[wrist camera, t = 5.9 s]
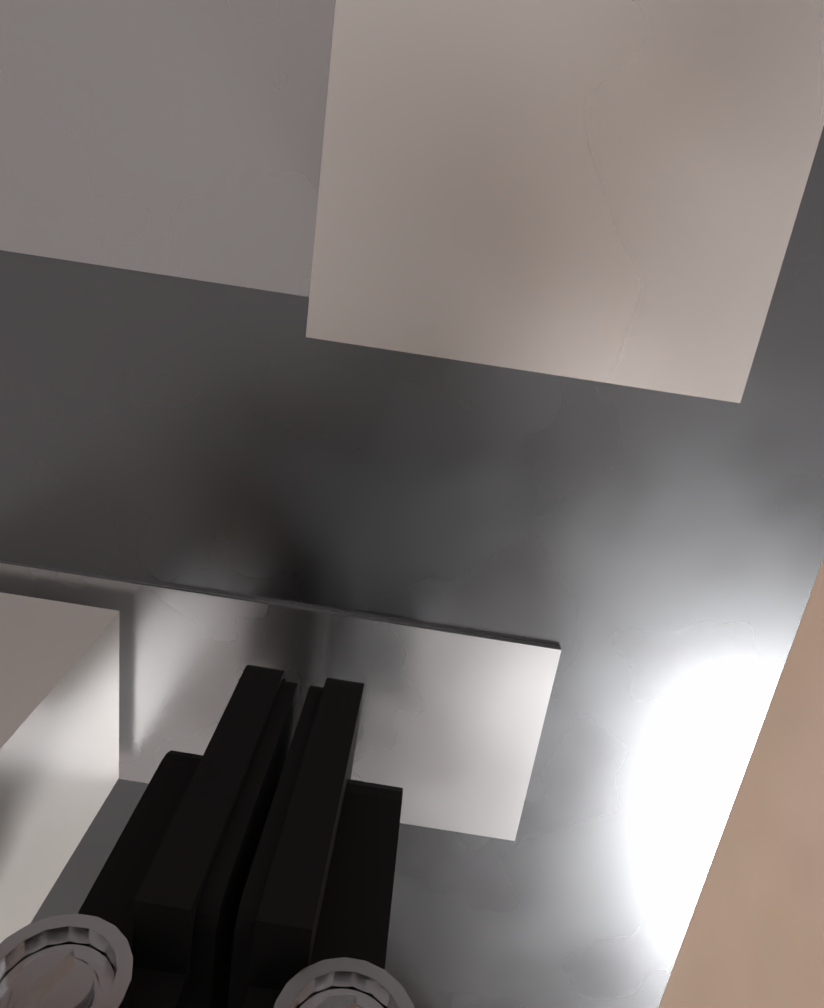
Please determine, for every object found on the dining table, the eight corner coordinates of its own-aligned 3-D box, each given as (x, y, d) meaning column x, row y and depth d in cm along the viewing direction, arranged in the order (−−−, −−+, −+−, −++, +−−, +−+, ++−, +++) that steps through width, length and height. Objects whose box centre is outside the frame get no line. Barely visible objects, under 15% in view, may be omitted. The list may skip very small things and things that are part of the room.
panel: (-296, -204, 10) (-1545, -886, 4) (942, -20, 10) (1758, -415, 4) (-115, 991, 18) (-421, 1403, 12) (572, 1100, 18) (630, 1576, 12)
